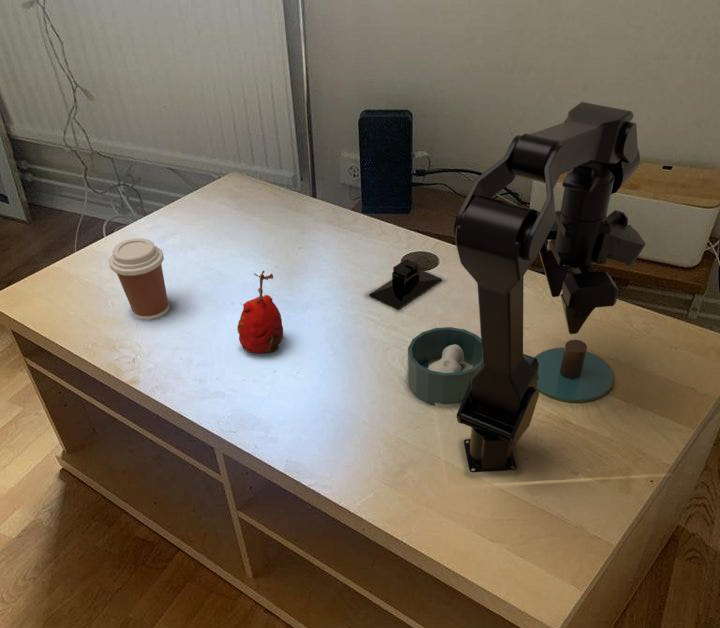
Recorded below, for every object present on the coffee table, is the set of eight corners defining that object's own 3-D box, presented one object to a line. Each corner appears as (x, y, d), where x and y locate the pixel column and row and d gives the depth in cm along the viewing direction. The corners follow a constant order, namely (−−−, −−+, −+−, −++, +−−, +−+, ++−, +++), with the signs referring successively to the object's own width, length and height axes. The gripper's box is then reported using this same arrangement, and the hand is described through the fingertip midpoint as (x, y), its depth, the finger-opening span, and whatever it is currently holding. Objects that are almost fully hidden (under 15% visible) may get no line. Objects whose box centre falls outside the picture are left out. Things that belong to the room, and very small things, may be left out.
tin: (489, 404, 108) (493, 372, 104) (411, 408, 108) (412, 377, 104) (477, 356, 116) (481, 325, 112) (405, 360, 116) (405, 329, 112)
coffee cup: (140, 292, 134) (122, 232, 125) (185, 298, 132) (169, 237, 123) (116, 320, 128) (95, 259, 119) (162, 327, 126) (144, 265, 117)
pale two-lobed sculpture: (445, 401, 110) (418, 383, 111) (469, 371, 115) (443, 354, 115) (454, 383, 107) (426, 364, 107) (479, 353, 111) (451, 336, 112)
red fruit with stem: (268, 327, 124) (255, 248, 113) (295, 344, 121) (284, 263, 110) (233, 347, 121) (216, 267, 110) (259, 365, 117) (245, 284, 106)
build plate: (398, 311, 126) (397, 287, 123) (367, 296, 130) (366, 273, 126) (442, 280, 132) (443, 257, 129) (411, 267, 136) (411, 244, 132)
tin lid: (622, 403, 107) (632, 370, 103) (536, 408, 107) (542, 375, 103) (599, 351, 116) (607, 318, 112) (519, 355, 116) (524, 323, 112)
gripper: (673, 242, 86) (641, 348, 97) (622, 173, 99) (599, 274, 110) (581, 250, 86) (560, 356, 97) (541, 180, 98) (527, 280, 110)
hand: (564, 314), depth 104 cm, fingers open, 9 cm apart
